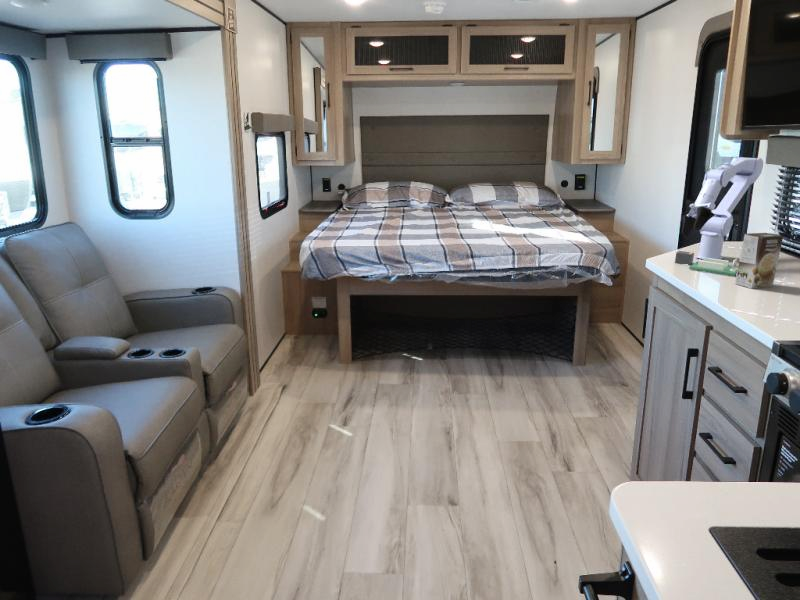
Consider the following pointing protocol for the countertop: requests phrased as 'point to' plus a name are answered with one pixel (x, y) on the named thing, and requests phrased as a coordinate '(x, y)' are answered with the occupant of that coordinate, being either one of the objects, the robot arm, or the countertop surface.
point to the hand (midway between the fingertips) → (690, 232)
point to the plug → (684, 257)
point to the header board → (716, 266)
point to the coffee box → (758, 260)
